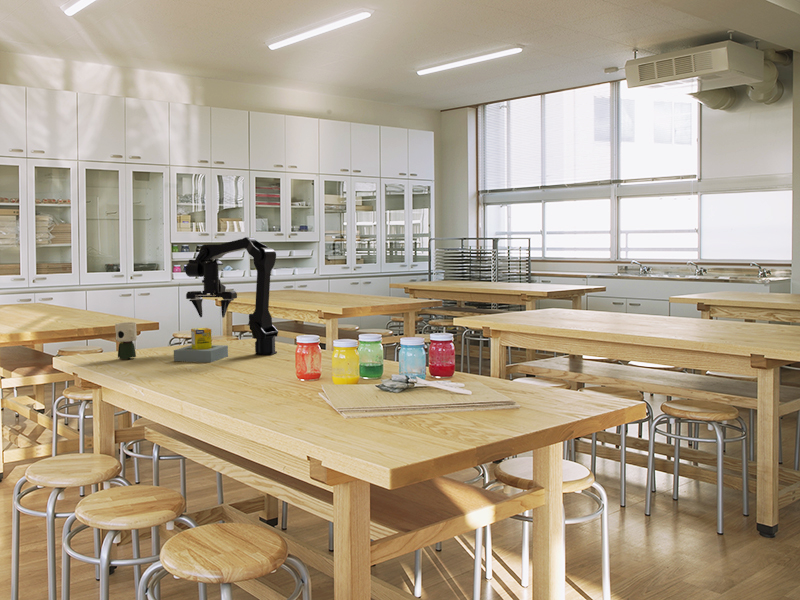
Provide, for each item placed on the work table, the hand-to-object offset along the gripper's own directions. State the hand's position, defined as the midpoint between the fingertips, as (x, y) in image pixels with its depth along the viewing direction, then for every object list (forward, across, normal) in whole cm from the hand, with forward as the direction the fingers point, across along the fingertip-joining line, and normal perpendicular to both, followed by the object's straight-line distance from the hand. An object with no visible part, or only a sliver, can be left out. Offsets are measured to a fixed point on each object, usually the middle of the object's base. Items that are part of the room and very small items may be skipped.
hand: (212, 317), depth 275 cm
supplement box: (+13, -5, +20) cm, 24 cm away
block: (+13, -5, +20) cm, 24 cm away
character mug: (+13, +22, +24) cm, 35 cm away
